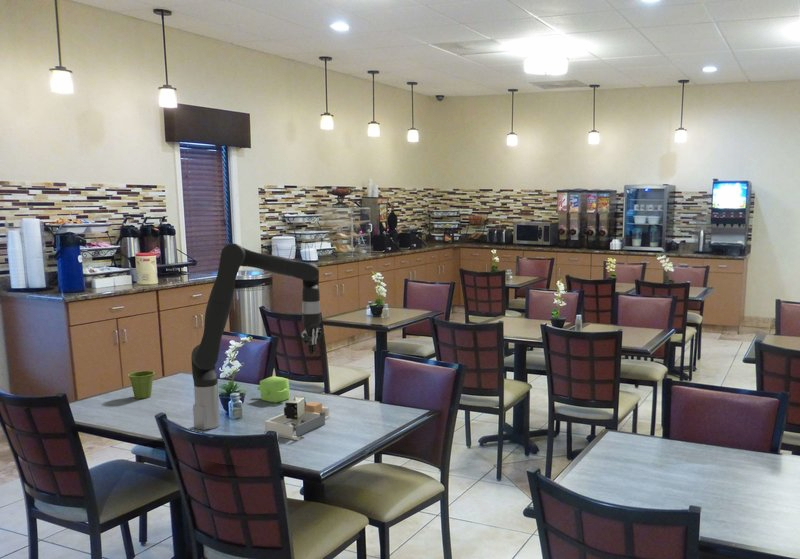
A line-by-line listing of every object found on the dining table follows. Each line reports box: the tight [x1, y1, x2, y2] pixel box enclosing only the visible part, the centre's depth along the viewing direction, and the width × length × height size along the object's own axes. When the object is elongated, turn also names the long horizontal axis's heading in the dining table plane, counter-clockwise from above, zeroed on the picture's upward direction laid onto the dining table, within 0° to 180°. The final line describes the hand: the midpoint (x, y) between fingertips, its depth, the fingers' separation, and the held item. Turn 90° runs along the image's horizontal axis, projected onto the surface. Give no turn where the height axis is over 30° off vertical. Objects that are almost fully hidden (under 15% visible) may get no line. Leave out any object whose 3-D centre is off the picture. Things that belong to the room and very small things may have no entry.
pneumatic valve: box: [283, 396, 307, 428], centre depth 269 cm, size 6×12×12 cm, turn 167°
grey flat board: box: [295, 412, 326, 437], centre depth 265 cm, size 17×1×5 cm, turn 149°
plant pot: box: [127, 370, 156, 400], centre depth 321 cm, size 12×12×11 cm
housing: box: [264, 406, 331, 441], centre depth 273 cm, size 26×16×5 cm, turn 149°
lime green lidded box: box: [257, 375, 291, 403], centre depth 313 cm, size 18×10×10 cm, turn 52°
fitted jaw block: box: [305, 401, 323, 413], centre depth 280 cm, size 5×5×6 cm
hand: (312, 353), depth 283 cm, fingers closed
